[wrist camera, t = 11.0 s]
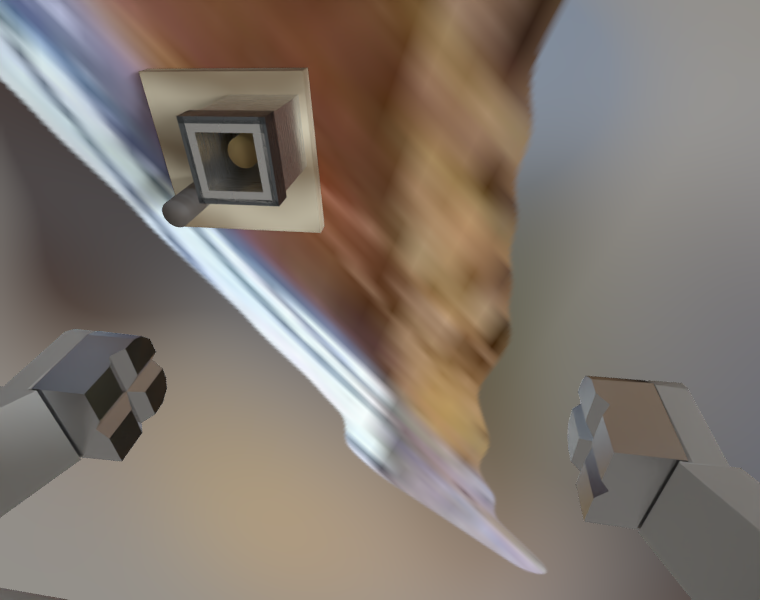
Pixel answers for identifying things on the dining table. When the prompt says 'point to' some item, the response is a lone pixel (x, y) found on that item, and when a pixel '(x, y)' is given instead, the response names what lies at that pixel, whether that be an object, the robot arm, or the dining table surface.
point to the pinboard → (232, 146)
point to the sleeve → (272, 144)
